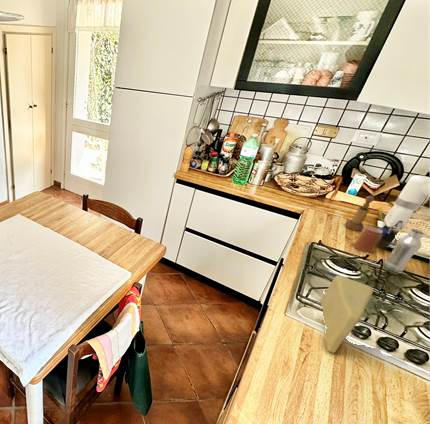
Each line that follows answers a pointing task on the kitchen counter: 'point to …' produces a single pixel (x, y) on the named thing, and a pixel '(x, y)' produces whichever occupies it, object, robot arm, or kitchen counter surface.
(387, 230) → the jar lid
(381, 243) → the lid stand
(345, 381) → the kitchen counter surface
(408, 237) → the plastic bottle
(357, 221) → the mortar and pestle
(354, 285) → the cheese
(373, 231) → the jam jar
